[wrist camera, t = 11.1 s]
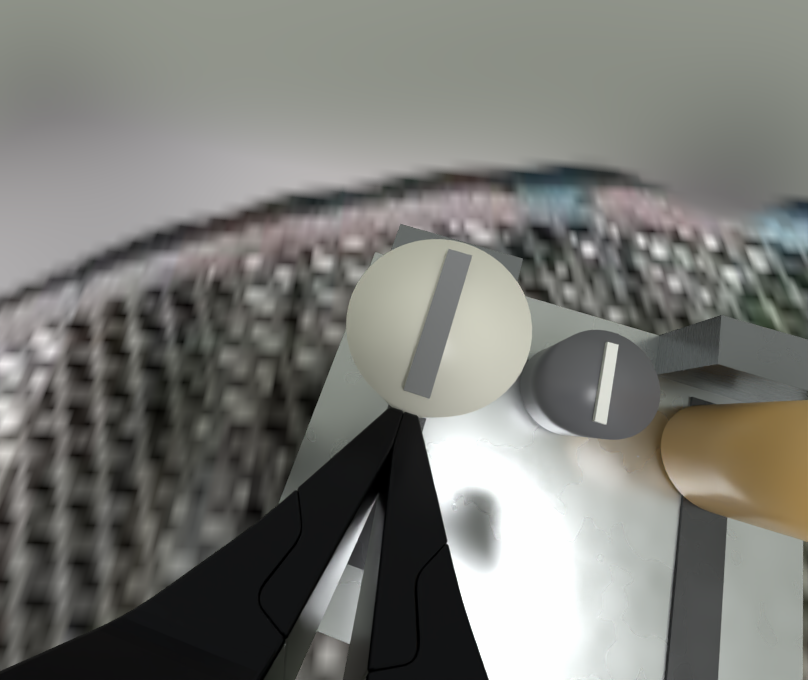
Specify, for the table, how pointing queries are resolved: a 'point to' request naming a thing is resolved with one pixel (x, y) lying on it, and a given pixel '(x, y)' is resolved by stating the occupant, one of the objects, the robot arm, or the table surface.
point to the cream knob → (438, 328)
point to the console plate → (594, 518)
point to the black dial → (591, 387)
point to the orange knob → (743, 462)
